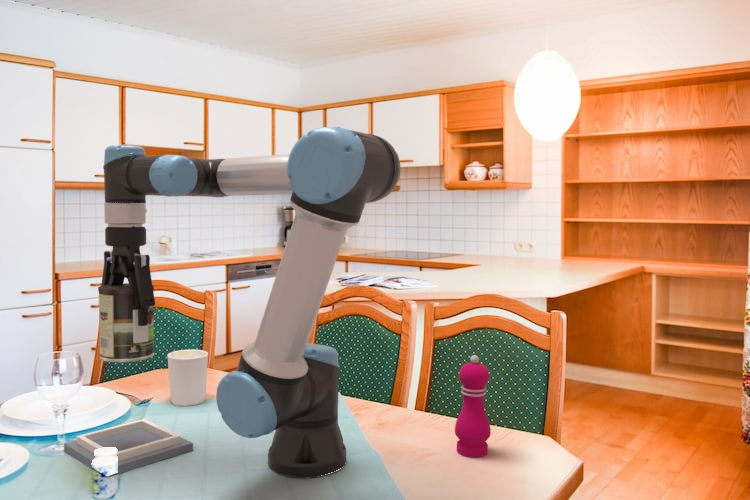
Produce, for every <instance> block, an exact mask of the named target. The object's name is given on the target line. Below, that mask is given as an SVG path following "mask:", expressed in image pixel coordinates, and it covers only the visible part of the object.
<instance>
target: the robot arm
mask: <svg viewBox="0 0 750 500" xmlns="http://www.w3.org/2000/svg"><path fill="white" fill-rule="evenodd" d="M103 159H104V161H103V167H102V168H103V177H104V178H103V179H104V181H103V183H104V184H103V185H104V186H103V187H104V205H103V207H104V224H107V226H106V228H104V238H105V241H104V242H105V244H104V245H106V246H108V247H112V248H111V249H112V250H105V251H104V252H103V261H104V263H103V269H102V279H101V285H100V286H103V285H111V286H116V285H123V284H124V283H125V282H124V281H125V279H127V281H128V282H127V283H129V286H130V289H133V300H134V304H135V306H134V307H132V309H133V343H140V342H147V341H148V308H150V307H151V306H154V307H155V306H156V299H155V293H154V290H153V286H154V285H153V281H152V275H151V273H152V272H151V269H150V263H151V261H150V255H149V254H141V251H140V250H141V249H140V247H143V246H145V245H146V244H147V228H146V226H143V225H145V224H146V223H147V222H146V219H147V218H146V217H147V216H146V213H147V212H148V211H147V209H146V203H147V201H146V197H147V196H154V197H155V196H158V197H163V196H164V197H170V198H171V197H210V198H211V197H212V198H224V197H229V196H230V197H231V196H235V197H237V196H263V195H264V196H267V195H273V196H274V195H291V196H290V199H289V201H290V204H291V206H292V208H293V210H294V211H295V214H294V218H293V221H292V224H291V228H290V229H289V230H290V231H289V234H288V237H287V239H286V243H285V246H284V250H283V252H282V256H281V259H280V262H279V266H278V268H277V270H276V274H275V278H274V281H273V284H272V288H271V290H270V293H269V296H268V299H267V303H266V306H265V310H264V311H263V315H262V319H261V322H260V324H259V328H258V331H257V335H256V338H255V340H254V341H253V342H251V343H248V344H247V345H245V346H244V348H243V349H242V351H241V355H240V358H239V360H238V364H237V367H236V369H235V370H232V371H230V372H228V373H227V374H226V375H224V376H223V377H222V378H221V380H220V381H218V382H219V383H218V386H217V387H216V392H215V393H216V396H215V399H216V405H217V409H218V411H219V413H220V415H221V418H222V421H223V422H224V423H225V425H226V426H227V427H228V428H229V429H230V430H231V431H232V432H233V433H235V434H237V436H241V437H242V438H247V439H254V438H255V439H256V438H259V437H263V436H266V435H269V434H272V432H274V433H273V434H274V435H273V439H272V441H271V442H272V443H271V445H270V447H269V449H268V452H267V465H268V467H269V469H271V470H272V471H273V472H274V473H277V474H279V475H282V476H286V477H289V478H291V477H292V478H299V479H300V478H305V477H310V478H318V477H317V476H320V477H322V476H321V475H325V474H328V473H331V472H334V471H336V470H338V469H340V468H342V467H343V466H344V465H345V466H346V464H347V448H346V445H345V443H344V439H343V435H342V432H341V431H342V430H341V428H340V426H339V380H340V379H339V373H340V371H339V370H340V365H339V353H338V350H336V348H334V347H332V346H329V345H325V344H319V343H309V340H310V339H311V338H310V337H311V335H312V331H313V329H314V327H315V323H316V319H317V317H318V315H319V314H318V313H319V312H320V308H321V305H322V302H323V299H324V296H325V293H326V290H327V287H328V285H329V282H330V279H331V276H332V273H333V270H334V269H335V268H334V267H335V264H336V262H337V259H338V256H339V253H340V250H341V246H342V244H343V242H344V238H345V235H346V232H347V230H349V229H350V228H353V227H354V226H356V225H358V224H359V223H360V220H361V218H362V215H363V213H364V208H365V206H366V204H370V203H375V202H378V201H380V200H382V199H383V200H384V199H385V198H386V197H387V196H389V195H390V194H391V193H392V192H393V190H394V189H395V188H396V186H397V184H398V183H399V180H400V178H401V177H400V176H401V170H402V169H401V168H402V167H401V160H400V157H399V154H398V153H397V151H396V149H395V148H394V146H393V145H392V144H391V143H390V142H389V141H388V140H386V139H384V138H383V137H381V136H378V135H375V134H372V133H366V132H360V131H356V130H353V129H348V128H345V127H341V126H332V127H330V126H321V127H317V128H314V129H312V130H309V131H308V132H306V133H304V134H303V135H302V136H301V137H300V138H299V139H297V141H296V142H295V143H294V145H293V147H292V148H291V151H290V153H289V154H277V155H276V154H274V155H261V156H260V155H259V156H246V157H245V156H244V157H232V158H214V159H213V158H211V159H206V158H205V159H204V158H194V157H187V156H184V155H179V154H164V155H162V154H161V155H146V149H144V147H142V146H139V145H125V144H124V145H122V144H121V145H116V144H114V145H108V146H107V147H106V148H105V149H104V158H103ZM152 285H153V286H152ZM345 463H346V464H345ZM345 466H344V467H345ZM344 467H343V468H344ZM343 468H342V469H343ZM340 470H341V469H340ZM325 476H326V475H325ZM305 479H306V478H305Z"/></svg>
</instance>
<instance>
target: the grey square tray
mask: <svg viewBox="0 0 750 500" xmlns="http://www.w3.org/2000/svg"><path fill="white" fill-rule="evenodd" d="M102 447H116V448H117V449H118V452H117V456H118V474H122V473H125V472H128V471H131V470H134V469H138V468H140V467H145V466H147V465H151V464H154V463H157V462H160V461H162V460H167V459H170V458H172V457H176V456H180V455H183V454H186V453H189V452H192V451H194V442H192V441H189V440H187V439H185V438H183V437H182V436H181V435H180V434H177V433H176V432H173V431H171V430H169V429H167V428H165V427H163V426H160V425H158V424H156V423H154V422H151V421H150V420H147V419H146V418H142V419H138V420H134V421H131V422H130V421H129V422H127V423H123V424H119V425H115V426H111V427H107V428H104V429H100V430H99V429H98V430H96V431H92V432H89V433H88V432H87V433H83V434H80V435H77V436H76V440H73V441H69V442H64V443H63V451H64V452H66V454H68V455H70V456H72V457H73V458H74V459H76V460H78V461H79V462H82V463H83V464H85V465H86V466H87V467H89V468H91V469H92V465H91V463H92V460H93V459H94V458H95V456H94V450H95V449H98V448H102ZM118 474H117V475H118Z"/></svg>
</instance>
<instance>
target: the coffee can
mask: <svg viewBox="0 0 750 500" xmlns="http://www.w3.org/2000/svg"><path fill="white" fill-rule="evenodd" d="M152 286H153V291H154V290H155V285H153V284H152ZM97 289H98V312H99V314H98V317H99V318H98V319H99V320H98V321H99V327H98V328H99V360H101V361H103V362H107V363H134V362H140V361H141V362H142V361H144V360H149V359H150V358H153V357H154V356H155V340H154V338H155V337H154V336H155V332H154V330H155V329H154V327H155V326H154V325H155V323H154V317H155V316H154V309H155V308H154V307H155V305H154V306H151V307H150V308H148V341H147V342H140V343H133V309H132V307H134V306H135V304H134V300H133V289H130V286H129V283H128V282H126V283H125V282H123V285H116V286H111V285H103V286H101V285H100V286H98V288H97Z"/></svg>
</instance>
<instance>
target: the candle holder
mask: <svg viewBox="0 0 750 500" xmlns="http://www.w3.org/2000/svg"><path fill="white" fill-rule="evenodd" d="M166 357H167V365H168V379H169V380H168V381H169V393H170V403H171V404H172V405H174V406H180V407H188V406H189V407H190V406H196V405H200V404H203V403H204V402H205V400H206V396H207V395H206V394H207V381H208V380H207V379H208V359H209V352H208V351H205V350H201V349H181V350H175V351H171V352H169V353H167V355H166Z"/></svg>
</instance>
